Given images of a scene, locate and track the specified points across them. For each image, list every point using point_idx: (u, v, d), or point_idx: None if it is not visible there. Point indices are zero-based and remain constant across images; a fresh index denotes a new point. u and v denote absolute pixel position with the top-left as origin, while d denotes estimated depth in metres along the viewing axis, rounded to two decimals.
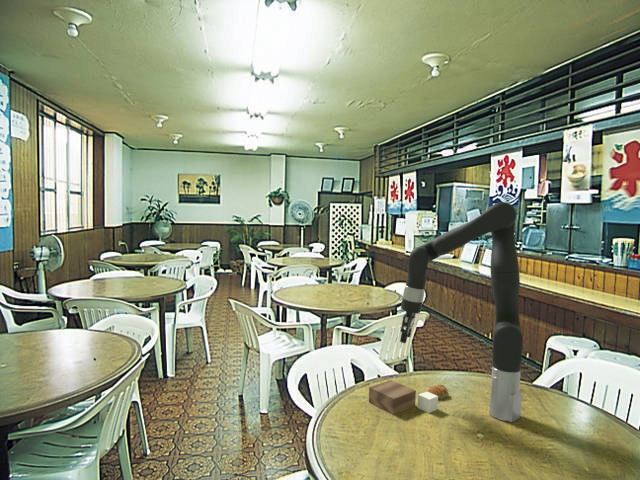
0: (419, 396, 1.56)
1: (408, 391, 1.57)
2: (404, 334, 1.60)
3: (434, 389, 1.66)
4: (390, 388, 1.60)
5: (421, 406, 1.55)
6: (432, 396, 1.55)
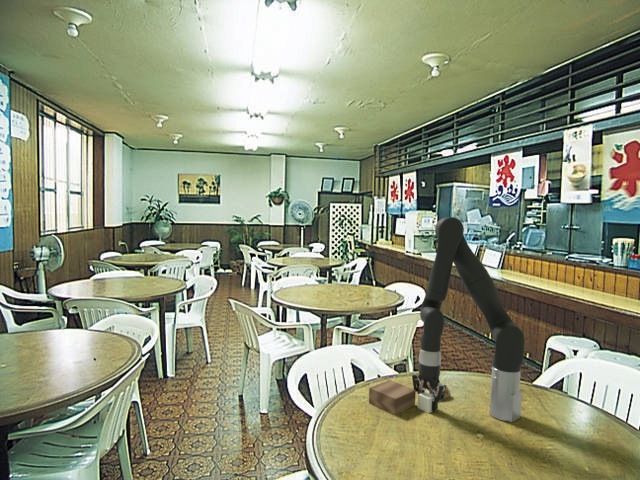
0: (419, 396, 1.56)
1: (408, 390, 1.58)
2: (437, 401, 1.53)
3: None
4: (389, 388, 1.60)
5: (421, 406, 1.55)
6: None
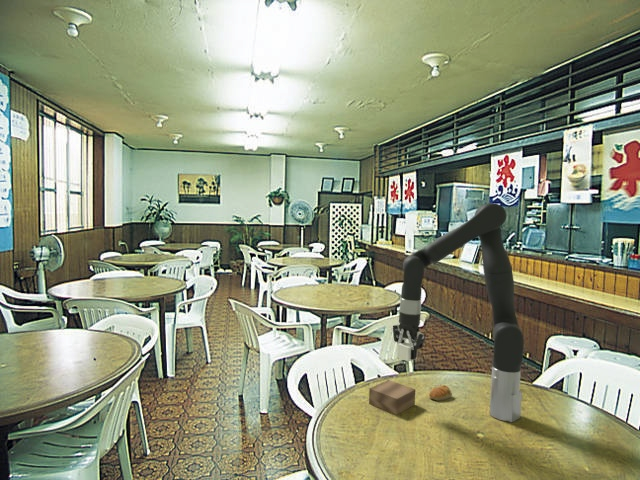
0: (399, 345, 1.57)
1: (408, 390, 1.58)
2: (416, 350, 1.54)
3: (438, 390, 1.66)
4: (389, 388, 1.60)
5: (401, 355, 1.56)
6: None
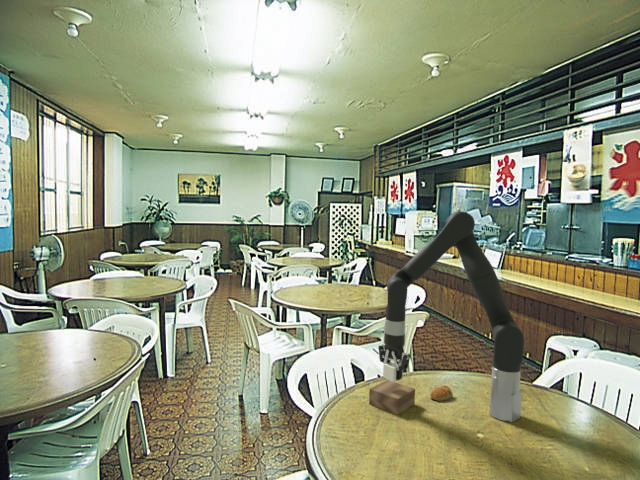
0: (384, 366, 1.59)
1: (408, 390, 1.58)
2: (401, 371, 1.56)
3: (439, 390, 1.65)
4: (389, 388, 1.60)
5: (386, 375, 1.58)
6: None
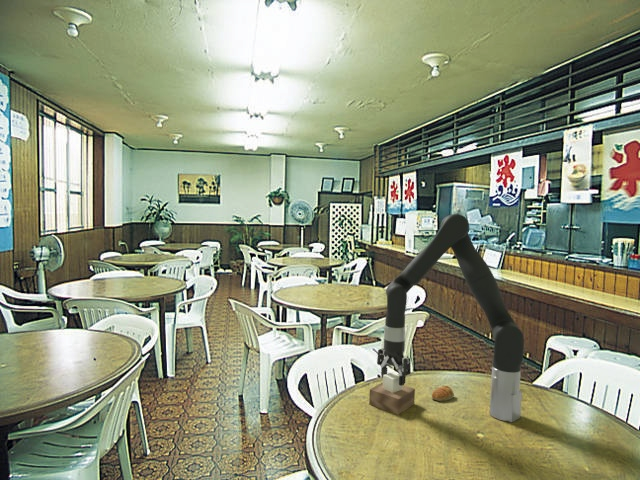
0: (384, 376, 1.59)
1: (408, 390, 1.58)
2: (404, 376, 1.55)
3: (440, 390, 1.65)
4: None
5: (386, 386, 1.58)
6: (396, 377, 1.58)
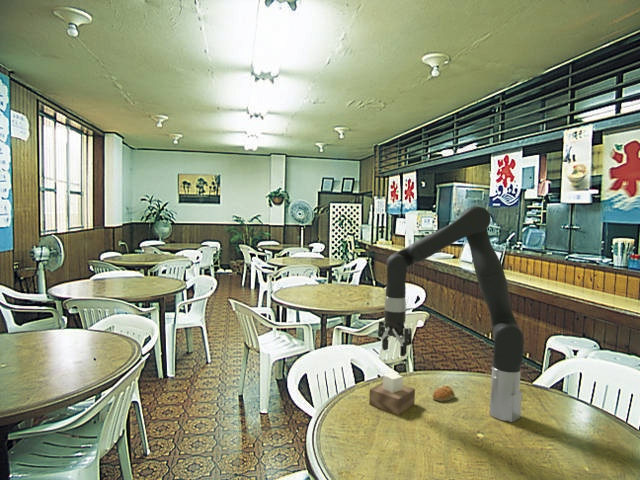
0: (384, 376, 1.59)
1: (408, 390, 1.58)
2: (405, 347, 1.54)
3: (441, 391, 1.65)
4: None
5: (386, 386, 1.58)
6: (396, 377, 1.58)
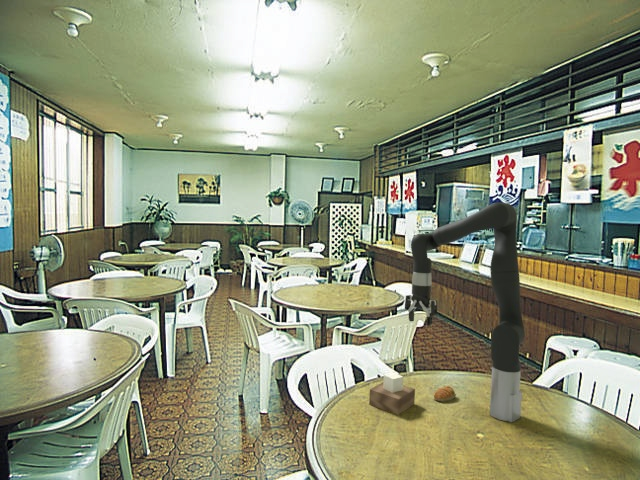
0: (384, 376, 1.59)
1: (408, 390, 1.58)
2: (431, 317, 1.70)
3: (442, 391, 1.65)
4: None
5: (386, 386, 1.58)
6: (396, 377, 1.57)
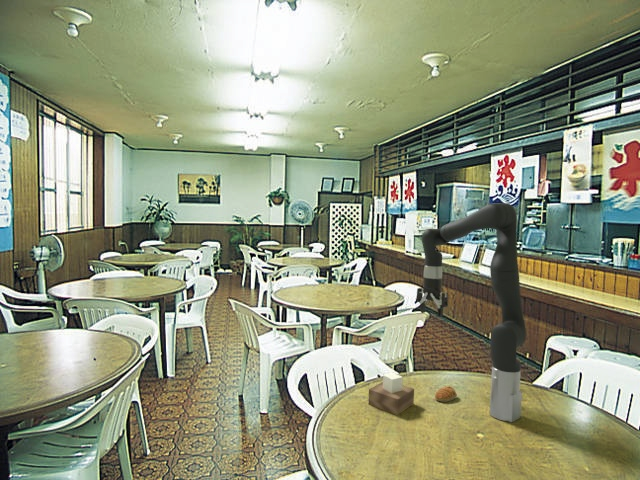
0: (384, 376, 1.59)
1: (407, 390, 1.58)
2: (442, 309, 1.77)
3: (444, 391, 1.65)
4: None
5: (385, 386, 1.58)
6: (396, 377, 1.57)
